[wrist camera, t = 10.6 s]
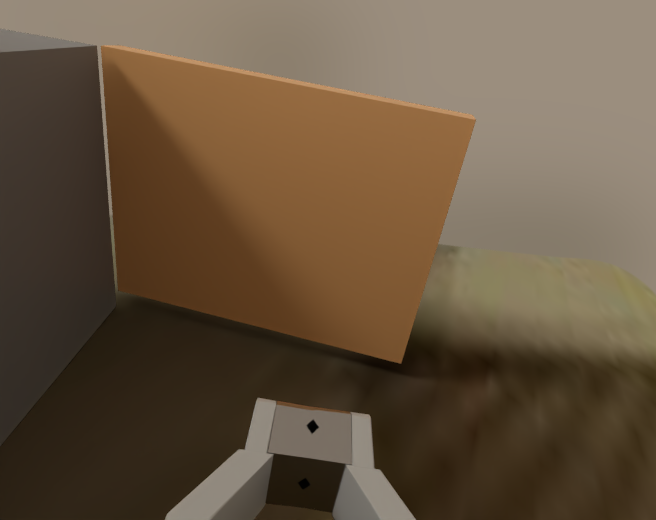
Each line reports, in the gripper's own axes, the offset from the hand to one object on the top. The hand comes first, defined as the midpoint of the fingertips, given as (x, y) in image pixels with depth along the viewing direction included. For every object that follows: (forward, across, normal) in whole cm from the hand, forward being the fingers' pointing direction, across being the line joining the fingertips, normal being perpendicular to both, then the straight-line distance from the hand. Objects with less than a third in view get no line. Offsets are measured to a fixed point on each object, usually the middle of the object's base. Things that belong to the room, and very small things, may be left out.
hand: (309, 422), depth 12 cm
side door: (+15, +3, +7) cm, 17 cm away
